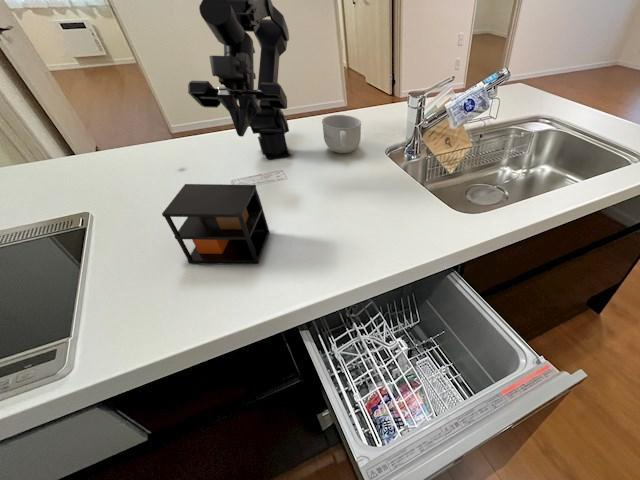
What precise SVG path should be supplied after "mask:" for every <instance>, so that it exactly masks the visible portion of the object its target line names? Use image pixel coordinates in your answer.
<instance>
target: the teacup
mask: <svg viewBox="0 0 640 480" xmlns="http://www.w3.org/2000/svg"><path fill="white" fill-rule="evenodd" d="M321 123H322V132H323V134H322V135H323V141H324V143H325V145H326V146H327V147H328V148H329V149H330V150H331V151H333V152H334V153H336V154H337V153H338V154H350V153H352V152H354V151H355V150H356V149H357V148H358V147H359V146H360V144H361V136H362V135H361V134H362V121H361V120H360V119H359V118H357V117H356V116H351V115H346V114H333V115H327V116H325V117H323V118H322V120H321Z"/></svg>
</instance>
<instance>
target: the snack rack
mask: <svg viewBox="0 0 640 480" xmlns="http://www.w3.org/2000/svg"><path fill="white" fill-rule="evenodd" d="M161 215H162V217H164V219H165V221H166V222H167V225H168V226H169V228H170V231H171V232H172V234H173V236H174V239H175V240H176V241H177V243H178V245H179V246H180V248H181V250H182V252H183V253H184V255H185V257H186V259H187V263H188V264H189V265H191V264H197V265H199V264H200V265H201V264H203V265H204V264H206V265H211V264H214V265H215V264H216V265H217V264H219V265H222V264H227V265H229V264H230V265H233V264H234V265H245V264H246V265H258V264H259V263H260V261H261V259H262V255H263V253H264V249H265V248H266V244H267V242H268V239H269V236H270V234H271V233H270V228H269V225H268V222H267V219H266V218H267V217H266V215H265V212H264V209H263V205H262V202H261V198H260V194H259V193H258V189H257V185H256V184H218V183H217V184H214V183H213V184H211V183H209V184H208V183H185V184H183V186H182V187H181V188H180V190H179V191H178V193H176V195H175V196H174V197H173V199H172V200H171V201H170V203H169V204H168V205H167V207H166V208H165V209H163V212H162V213H161ZM172 218H186V219H185V220H184V222H183V224H181V226H180V228H179V229H177V227H176V225H175V223H174V221H173V219H172ZM184 240H191V241H192V242H193V244H194V246H195V247H194V248H193V250H192V252H191V253H190V251H189V249H188V247H187V245H186V243H185V242H184Z"/></svg>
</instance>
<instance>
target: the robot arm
mask: <svg viewBox="0 0 640 480" xmlns="http://www.w3.org/2000/svg"><path fill="white" fill-rule="evenodd" d="M198 9H199V14H200V16H201V18H202V19H203V21H204V23H205V24H206V26H207V27H208V28H209V30H210V31H211V33H212V34H213V36H215V38H216V40H217V42H219V43H220V44H221V45H223V55H209V57H208V58H209V62H210V69H211V74H212V76H213V77H217V78H218V83H219V84H220V85H222V86H217V88H215V87H214V86H213V85H212V84H211V82H210V81H209V80H191V81H189V82H188V83H187V93H188V94H189V96H191V98H192V99H194V101H196V102H197V104H198V105H199V106H201V107H203V108H213V109H214V108H215V109H216V108H219V106H221V105H222V106H223V107H224V108H225V109H226V111H228V113H229V115H230V117H231V120H232V124H233V126H234V128H235V132H236V135H237V136H238V137H241V138H242V137H244V136H245V134H246V132H247V130H248V128H249V127H250V129H251V132H252V134H253V135H254V134H255V135H256V134H258V135H259V136H257V141H258V145H259V148H260V151H261V153H262V155H263V156H264V157H265V159H266V160H272V159H279V158H285V157H290V156H291V153H290V152H289V150H288V144H287V140H286V133H289V132H290V128H289V123H288V119H287V117H286V116H285V114H284V112H283V110H287V109H288V97H287V95H286V93H285V90H284V89H283V87H282V85H281V84H280V83H279V82H278V81H279V68H280V58H281V57H280V56H282V55H283V54H284V53H285V52H286V51H287V48H288V42H289V41H290V33H289V28H288V25H287V22H286V20H285V15H283V13H281V11H280V10H278V9H277V8H276V7H275V6H274V5H273V1H272V0H202V1H201V2H200V4H199V8H198ZM249 33H253V34H254V36H255V38H256V40H257V42H258V45H259V48H260V55H259V65H258V66H259V67H258V79H257V89H255V80H256V78H257V76H256V73H255V69H254V65H255V63H254V54H256V49H255V47H254V40H253V38H252V37H251V35H250V34H249Z"/></svg>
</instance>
